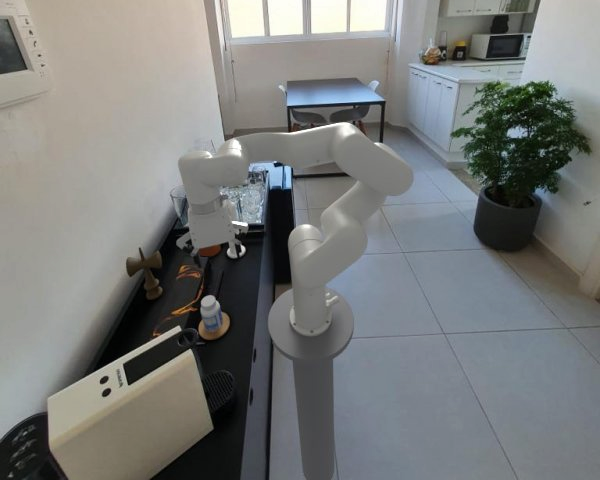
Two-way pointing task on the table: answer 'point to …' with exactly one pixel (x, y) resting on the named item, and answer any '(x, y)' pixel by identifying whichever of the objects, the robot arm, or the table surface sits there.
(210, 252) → the pot
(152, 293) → the kendama
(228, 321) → the coaster
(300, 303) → the robot arm
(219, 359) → the table surface
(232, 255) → the candle
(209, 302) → the pill bottle
